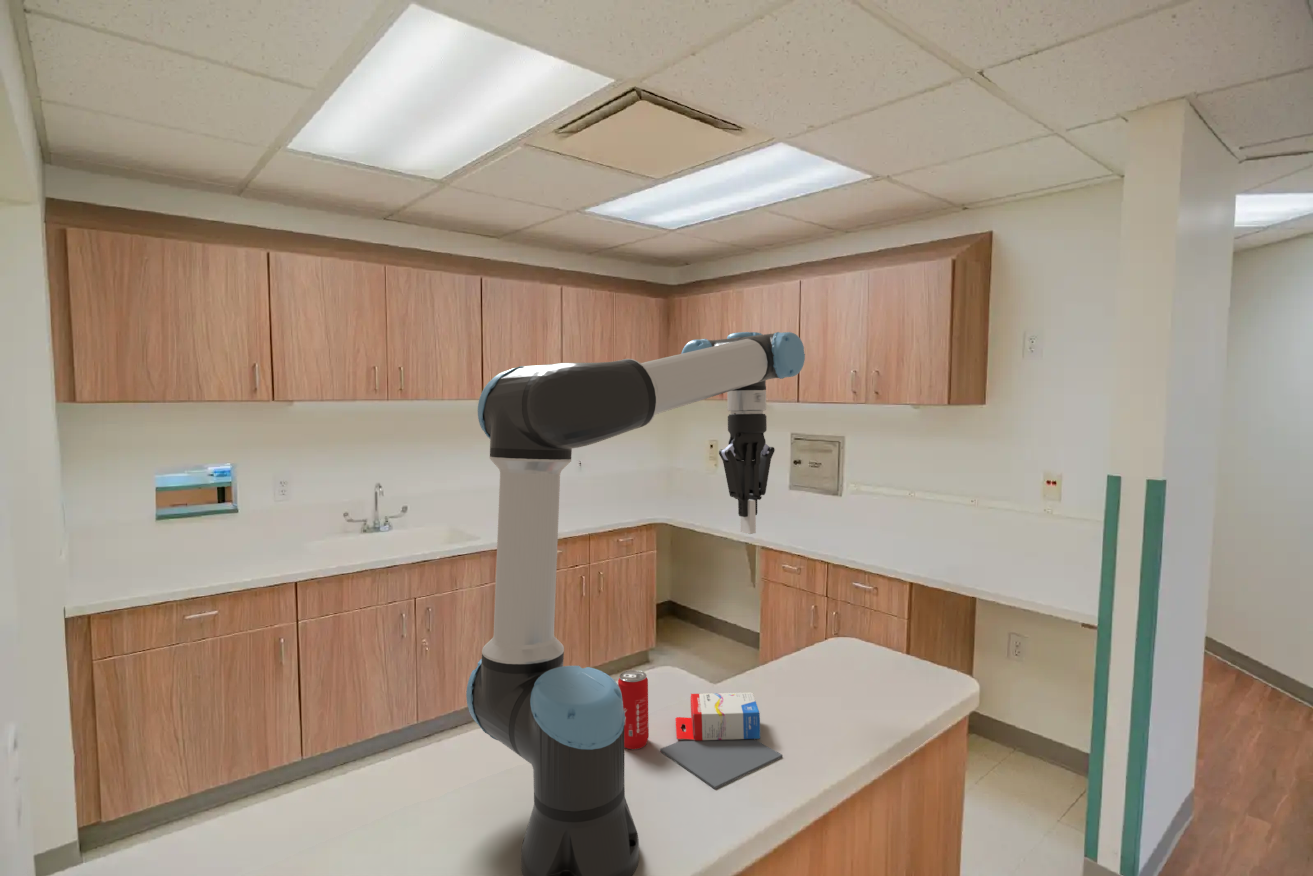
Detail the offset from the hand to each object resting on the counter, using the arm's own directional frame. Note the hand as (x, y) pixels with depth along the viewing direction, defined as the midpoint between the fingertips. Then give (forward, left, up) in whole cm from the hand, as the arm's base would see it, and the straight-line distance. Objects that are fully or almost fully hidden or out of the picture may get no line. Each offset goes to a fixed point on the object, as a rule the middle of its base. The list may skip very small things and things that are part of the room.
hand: (748, 532), depth 127 cm
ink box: (-7, -10, -31) cm, 33 cm away
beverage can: (-28, 0, -34) cm, 44 cm away
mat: (-18, -12, -34) cm, 40 cm away
